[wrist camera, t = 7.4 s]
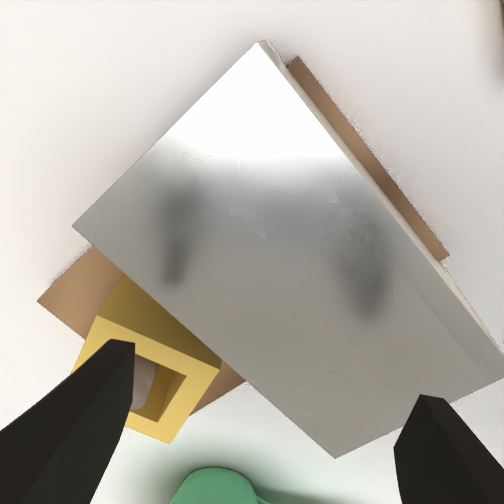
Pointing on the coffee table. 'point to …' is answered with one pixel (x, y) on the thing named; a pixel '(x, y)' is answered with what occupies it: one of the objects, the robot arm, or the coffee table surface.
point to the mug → (216, 488)
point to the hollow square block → (155, 357)
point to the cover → (292, 261)
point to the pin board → (108, 274)
